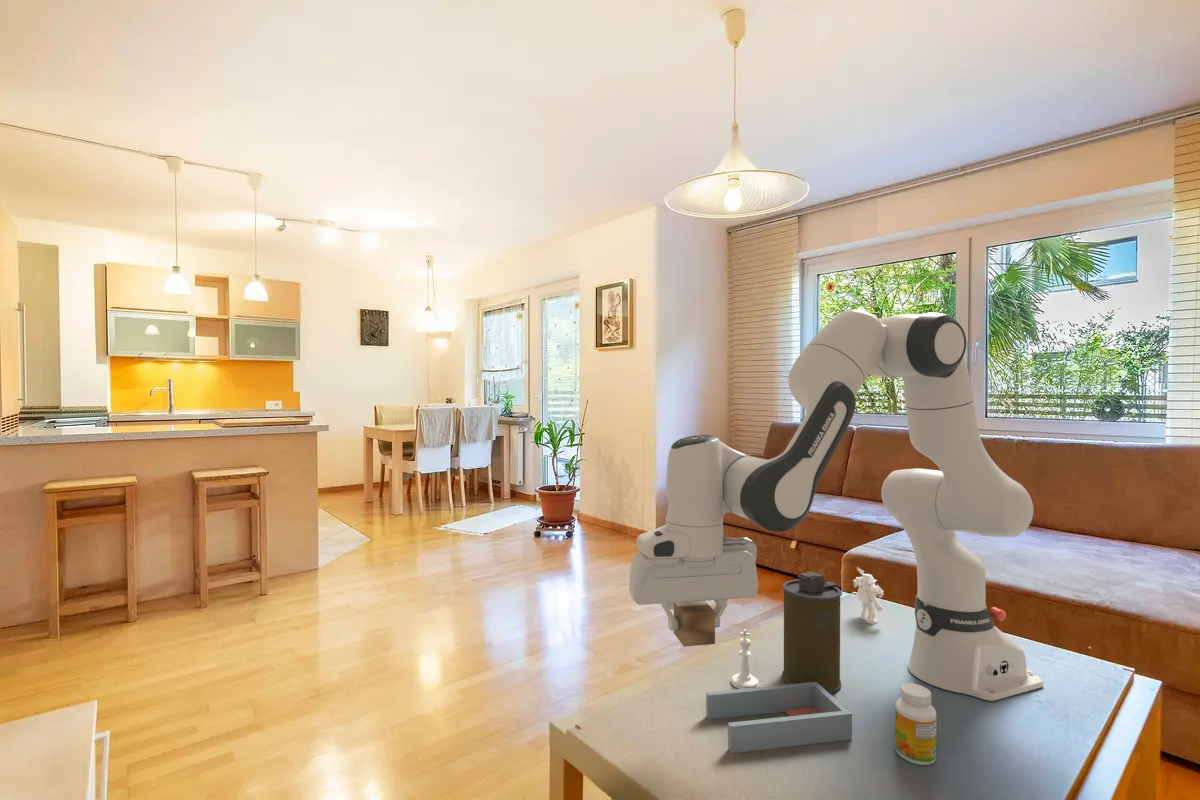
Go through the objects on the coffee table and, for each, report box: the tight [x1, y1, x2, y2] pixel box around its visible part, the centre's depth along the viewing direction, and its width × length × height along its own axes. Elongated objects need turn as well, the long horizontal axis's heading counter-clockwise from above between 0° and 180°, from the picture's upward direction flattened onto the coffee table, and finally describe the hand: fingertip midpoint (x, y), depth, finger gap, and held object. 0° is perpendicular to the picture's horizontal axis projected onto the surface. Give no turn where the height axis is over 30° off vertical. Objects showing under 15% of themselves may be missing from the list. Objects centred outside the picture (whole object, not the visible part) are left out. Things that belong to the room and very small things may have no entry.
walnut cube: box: [673, 601, 716, 647], centre depth 88 cm, size 5×5×5 cm
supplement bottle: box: [894, 682, 938, 766], centre depth 84 cm, size 5×5×10 cm
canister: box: [781, 570, 843, 695], centre depth 106 cm, size 11×10×20 cm
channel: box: [705, 682, 853, 754], centre depth 91 cm, size 20×10×4 cm, turn 100°
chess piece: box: [730, 628, 760, 689], centre depth 105 cm, size 5×5×10 cm
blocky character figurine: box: [852, 566, 885, 625], centre depth 135 cm, size 9×4×12 cm, turn 10°
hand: (694, 627), depth 88 cm, fingers closed on walnut cube, 5 cm apart
